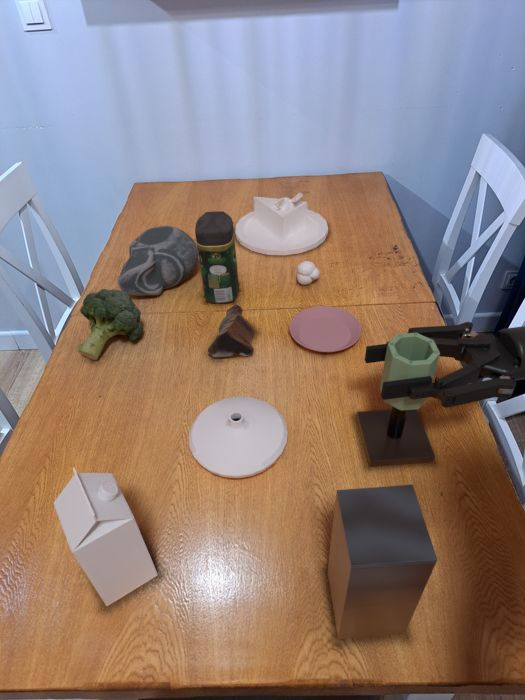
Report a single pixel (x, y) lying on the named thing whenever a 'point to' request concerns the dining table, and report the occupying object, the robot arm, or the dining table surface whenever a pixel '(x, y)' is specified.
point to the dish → (281, 227)
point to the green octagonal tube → (409, 364)
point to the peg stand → (394, 437)
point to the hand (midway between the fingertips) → (374, 372)
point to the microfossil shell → (307, 272)
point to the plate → (325, 329)
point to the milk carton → (104, 535)
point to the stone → (233, 336)
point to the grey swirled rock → (158, 261)
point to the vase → (238, 437)
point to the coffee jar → (217, 257)
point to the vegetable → (109, 319)
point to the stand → (378, 560)
